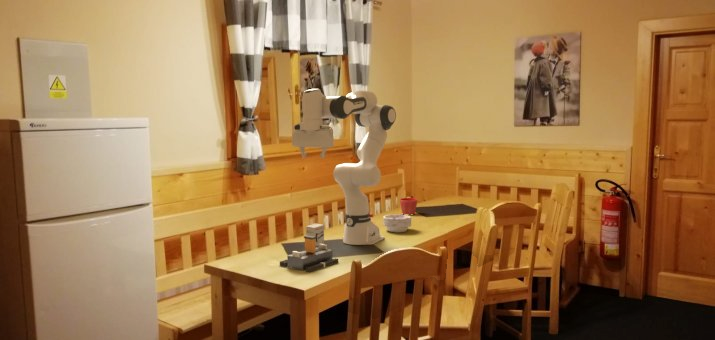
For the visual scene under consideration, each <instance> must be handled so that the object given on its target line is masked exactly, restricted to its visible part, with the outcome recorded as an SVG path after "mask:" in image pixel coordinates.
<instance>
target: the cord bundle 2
mask: <svg viewBox="0 0 715 340" xmlns="http://www.w3.org/2000/svg"><path fill="white" fill-rule="evenodd" d="M338 263H339V258H332V260H329V261H326V262H320V264H317V265H313V266H310V267H307V268H306V270H305V272H306V273H312V272H315V271H317V270H321V269H323V268H326V267H329V266H331V265H335V264H338Z"/></svg>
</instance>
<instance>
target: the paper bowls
mask: <svg viewBox="0 0 715 340" xmlns="http://www.w3.org/2000/svg"><path fill="white" fill-rule="evenodd" d="M411 216H412V215H409V216H408V215H403V214H386V215H383V216H382V226H384V227H386V229H387V231H389V232H391V233H404V232H407V230H409V229H408V228H410V227H412V217H411Z"/></svg>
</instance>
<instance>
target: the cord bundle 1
mask: <svg viewBox="0 0 715 340" xmlns="http://www.w3.org/2000/svg"><path fill="white" fill-rule="evenodd" d="M279 266H280V267H285V268H287V267H288V261H287V258H286V259H284V260H281V261H279Z"/></svg>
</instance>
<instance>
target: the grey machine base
mask: <svg viewBox="0 0 715 340" xmlns="http://www.w3.org/2000/svg"><path fill="white" fill-rule="evenodd" d="M286 257H287V258H286V259H287V261H288V266H287V268H288V269H294V270H296V271H297V270H298V271H301V272H304V271H305V272H306V268H307V267H310V266H313V265H317V264H320V262H326V261H329V260H332V259H333V249H330V248H328V244H325V243H324V244H319V247H315V252H314V253H311V252H306V251H305V250H302V251H297V250H293V251H292V254H288V255H287V256H286Z"/></svg>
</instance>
